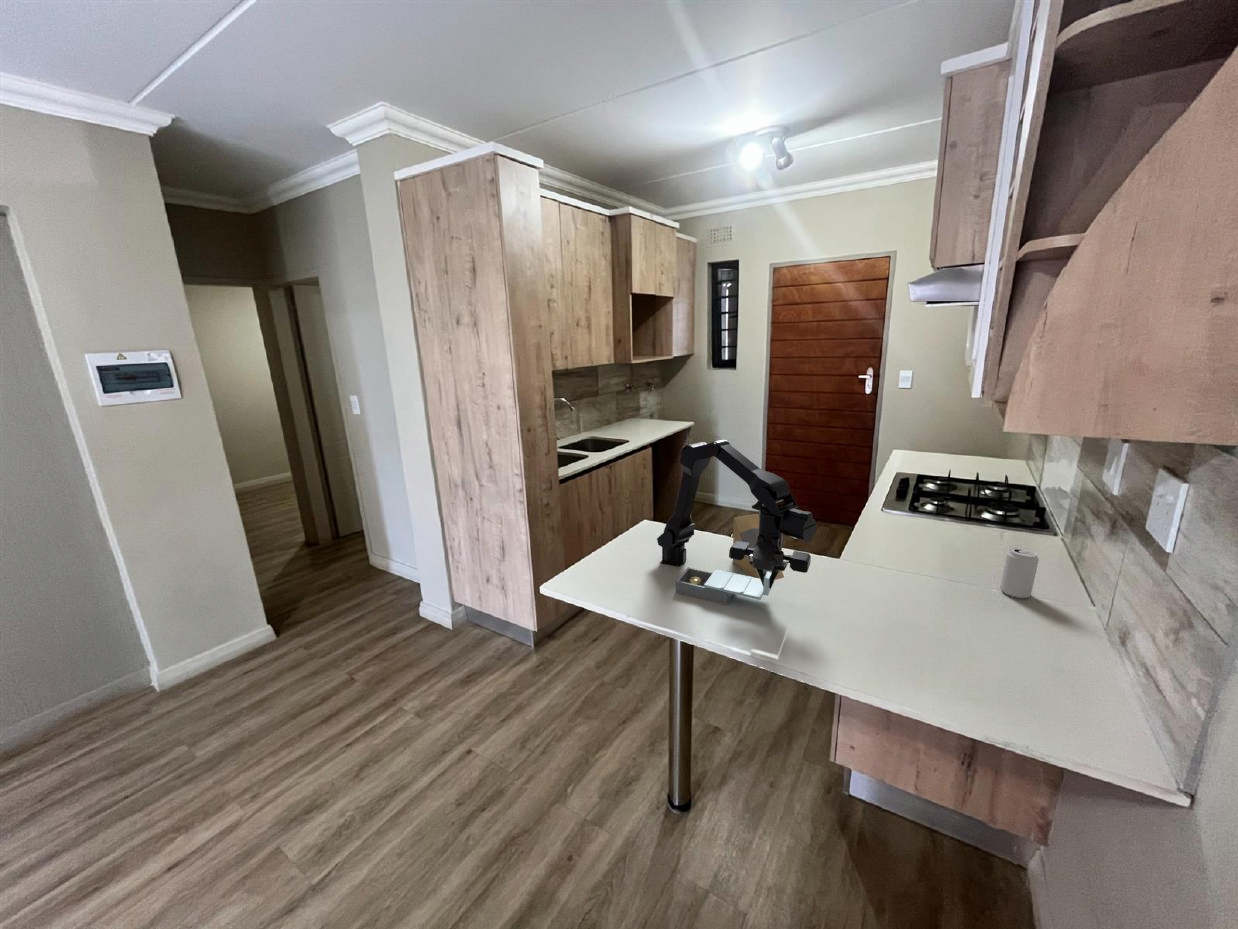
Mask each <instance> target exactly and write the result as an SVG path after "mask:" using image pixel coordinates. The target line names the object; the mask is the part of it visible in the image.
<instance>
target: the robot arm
mask: <svg viewBox="0 0 1238 929" xmlns="http://www.w3.org/2000/svg"><path fill="white" fill-rule="evenodd" d="M712 457H714V458H716V459H717V460H718V461H719V462H721V463H722V464H723V465H724V466H726V467H727V468H728V469H729V470H730V471H731V472H732V473H734V474H735V475H736V476H738V477H739V478H740V479H741V480H742V481H744V483H746V484H747V486H748V487H749V490H750V493H751V495H752V496H754V497H755V499H756V500H757V502H755V504H753V505H751V509H753V510H755V511H759V513H758V515H759V529H758V538H757V543H756V545H755V549H753V548H750V543H747V542H741V541H736V542H734V544H732V545H731V547H729V551H728V558H729V559H730V560H731V559H732V560H733V559H736V560H742V559H743V558H744V557H745V555H748V556H750V557H751V560H750V562H749V563H750V565H753V567H754V568H756V569H757V571H758V573H759V576H760V579H761V582H762V585H763V587H764V577H765V575H766V570H768V571H771V570H772V573H771V578H770V584H769V588H771V589H772V587H773V585H774V583H775V581H776V580H775V578H776V576H777V574H778V573H779V571H782V572H784V571H785V570H786V569H787V567H788V564H789V568H790V570H792V571H793V572H799V573H803V574H804V573H805V574H806V573H808V571H809V569H810V566H811V559H812V557H811V556H812V555H810V553H808V552H802V551H799V550H798V551H797V550H794V551H793V553H792V554H789V553H784V550H783V536H786V537H790V538H791V539H792V538H793V539H796V540H799V541H801V542H805V543H810V542H811V541H812V540H813V539H814V537H815V535H816V532H817V526H818V525H817V522H816V519H815V518H814V517H813V512H811V511H808V510H807V511H804V510H801V509H797V508H799V504H798V502H797V500H796V498H795V497H794V495H793V493H792V492H791V489H790V484H789V483H788V481H787V480H786V479H784V478H783V477H781V476H779V475H777V474H775V473H773V472H770V471H768V470H767V471H766V470H763V469H762V468H760V467H759V466H758V465H756V464H755V463H754V462H753V461H751V460H750V459H749V458H748V457H746V456H745V455H744V454H742V452H740V451H739V450H738V449H736V448H735V447H733V445H731V443H730V442H729V441H728V440H726V439H718V440H715V441H711V442H710V443H707V442H705V441H700V442H695V443H690V444H685V445H684V446H682V448H681V449H680V459H679V464H680V467H681V470H682V474H681V480H680V484H679V488H678V489H679V490H678V493H677V497H676V502H675V508H674V512H673V514H672V516H671V517H670V518H669V519H668V520H667V522H666V524H665V527H664V529H663V532H662V533H661V534H660V535H659V536H658V537H657V538H656V541H657V546H659V547H661V560H660V562H659V564H662V565H667V566H671V567H676V568H679V567H680V568H681V566H683V565H684V564H685V563H686V562H687V549H686V543H689V541H690V539H691V538H692V537H693V536H695V529H696V526H697V525H696V523H694V522H693V520H692V517H691V515H692V512H693V508H694V505H695V504H694V503H695V499H696V496H697V491H698V487H699V483H700V480H701V476H702V473H703V472H705V470H706V468H707V467H708V466H709V465H710V461H711V460H712V459H711V458H712ZM781 502H783V503H781ZM778 503H781V504H778Z"/></svg>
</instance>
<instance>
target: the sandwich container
mask: <svg viewBox="0 0 1238 929" xmlns="http://www.w3.org/2000/svg"><path fill="white" fill-rule="evenodd" d="M758 529H759V513H755V514H747V515H742V516H741V515H739V516H735V517H733V530H732V531H733V534H732V535H733V537H732V538H733V540H732V542H733V544H734V542H736V541H741V542H747V543H750V548H753V549H755V545H756V543H757V538H758ZM733 544H732V545H733ZM750 560H751V557H750V556H748V555H745V557H744V558H743V559H742V560H736V559H732V562H733V563H734V564H736V565H737V567H739V568H741V569H742V571H744V572H746V573H748V575H749V576H751V577H754V578H759V579H760V576H759V573H758V571H757V569H756V568H754V567H753V565H750V563H749V562H750ZM767 571H768V570H766V573H767ZM768 572H772V570H771V571H768ZM784 578H785V576H784V572H783V571H779V573H778V574H777V576H776V578H775V581H776V580H780V579H784Z"/></svg>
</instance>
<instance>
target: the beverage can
mask: <svg viewBox="0 0 1238 929" xmlns="http://www.w3.org/2000/svg"><path fill="white" fill-rule="evenodd" d="M1039 559H1040V558H1039V557H1038V553H1037V552H1036V551H1034V550H1031V549H1029V548H1026V547H1018V546H1013V547H1009V549H1008V551H1006V554H1005V560H1004V564H1003V570H1002V574H1001V579H1000V584H999V589H1000V590H1001V591H1002V593H1004V594H1005V595H1007V596H1009V597H1012V598H1016V599H1026V598H1029V597H1031V596H1032V592H1033V587H1034V584H1035V578H1036V574H1037V569H1038V565H1039Z"/></svg>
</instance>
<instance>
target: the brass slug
mask: <svg viewBox="0 0 1238 929" xmlns="http://www.w3.org/2000/svg"><path fill="white" fill-rule="evenodd" d="M690 583H691V584H695V585H700V586H701V579H700V578H699V577H691V578H690Z"/></svg>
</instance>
